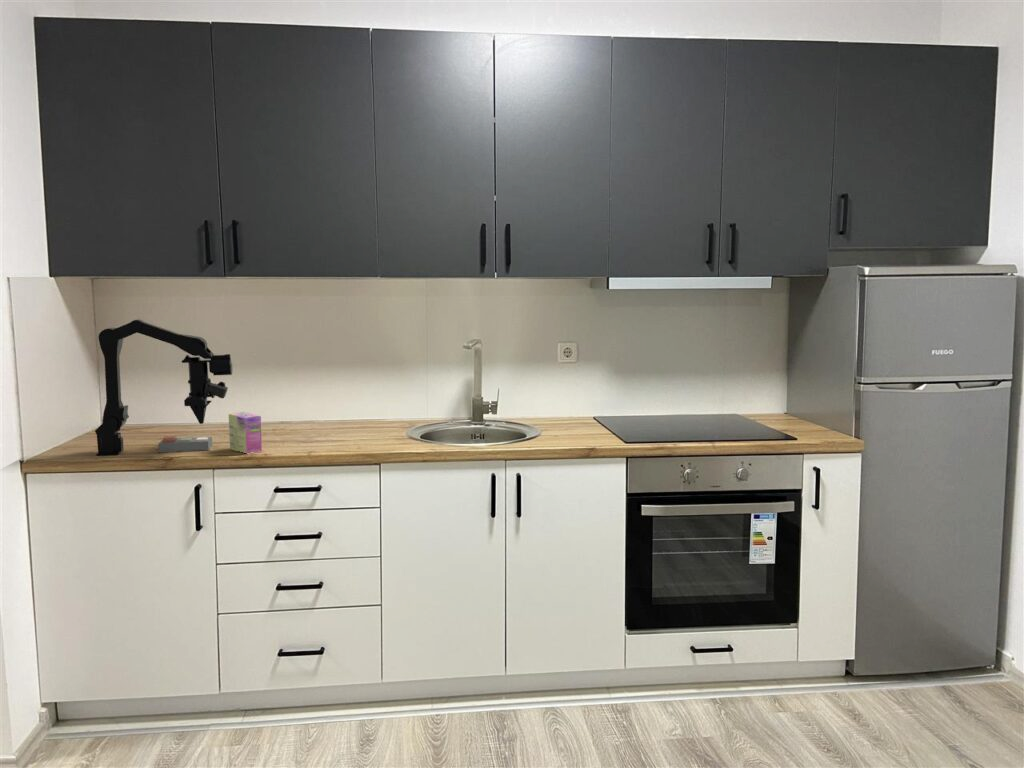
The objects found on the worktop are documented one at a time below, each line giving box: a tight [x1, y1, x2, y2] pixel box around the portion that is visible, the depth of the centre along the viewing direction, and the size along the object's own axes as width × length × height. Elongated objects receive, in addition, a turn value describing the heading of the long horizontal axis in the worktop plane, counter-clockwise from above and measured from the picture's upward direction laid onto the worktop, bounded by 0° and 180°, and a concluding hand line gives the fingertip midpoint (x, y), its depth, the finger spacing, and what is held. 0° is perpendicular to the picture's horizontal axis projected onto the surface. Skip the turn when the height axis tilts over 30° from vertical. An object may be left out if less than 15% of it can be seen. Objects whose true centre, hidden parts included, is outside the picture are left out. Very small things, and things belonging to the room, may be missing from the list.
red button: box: [162, 435, 177, 442], centre depth 254 cm, size 3×3×2 cm
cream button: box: [196, 436, 209, 441], centre depth 256 cm, size 3×3×2 cm
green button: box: [179, 437, 192, 441], centre depth 255 cm, size 3×3×2 cm
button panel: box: [157, 436, 213, 453], centre depth 256 cm, size 15×8×3 cm, turn 101°
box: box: [228, 411, 263, 454], centre depth 252 cm, size 10×6×12 cm, turn 48°
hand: (201, 423), depth 256 cm, fingers closed
